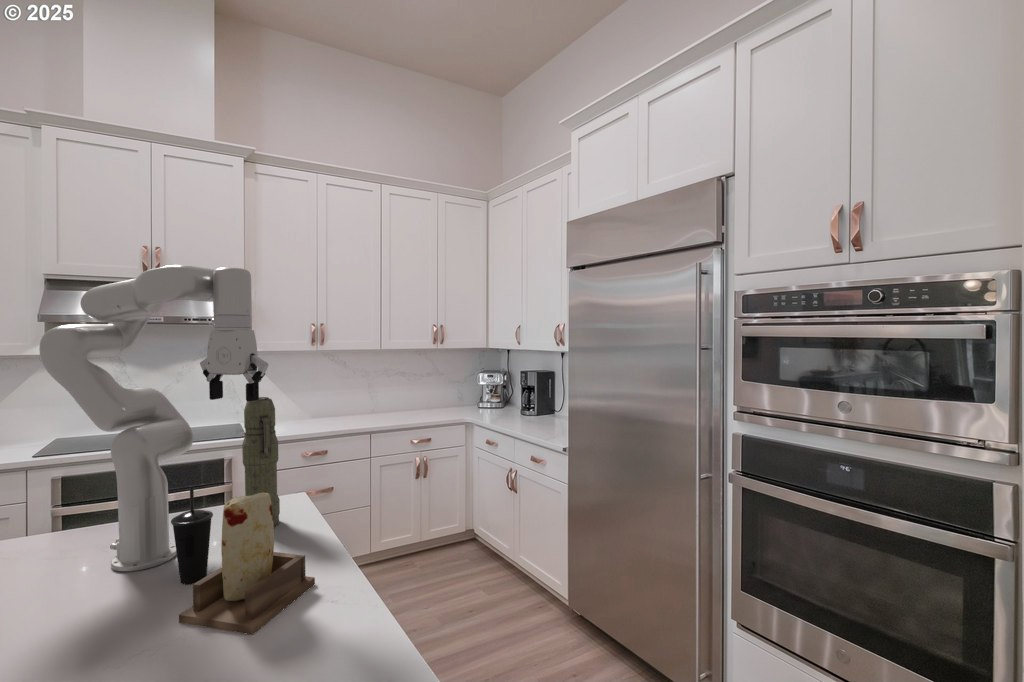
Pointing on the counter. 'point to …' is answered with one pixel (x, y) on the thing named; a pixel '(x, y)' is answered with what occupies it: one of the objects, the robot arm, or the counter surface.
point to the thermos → (261, 451)
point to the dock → (248, 597)
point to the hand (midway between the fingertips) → (234, 399)
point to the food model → (246, 543)
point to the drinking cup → (192, 542)
